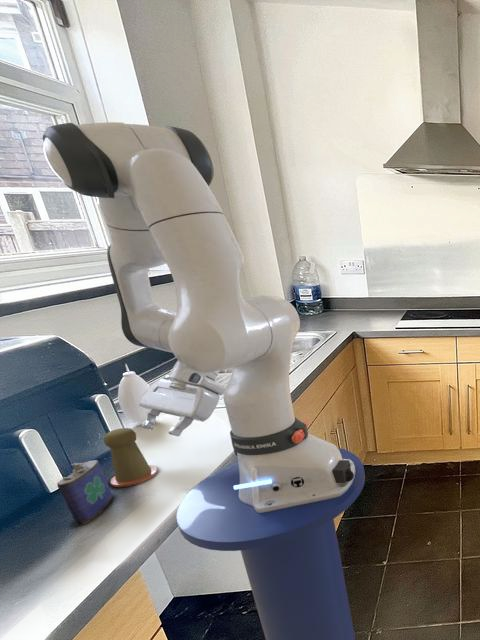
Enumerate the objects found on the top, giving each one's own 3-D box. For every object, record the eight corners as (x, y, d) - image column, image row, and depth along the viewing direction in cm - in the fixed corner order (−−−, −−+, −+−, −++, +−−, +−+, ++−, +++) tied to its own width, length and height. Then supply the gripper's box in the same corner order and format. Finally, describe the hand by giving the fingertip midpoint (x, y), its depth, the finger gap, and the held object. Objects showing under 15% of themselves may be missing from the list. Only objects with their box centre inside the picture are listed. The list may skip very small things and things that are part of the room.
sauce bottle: (142, 430, 115) (121, 368, 109) (120, 427, 116) (98, 366, 110) (169, 418, 122) (151, 360, 116) (148, 416, 124) (129, 358, 117)
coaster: (165, 465, 98) (164, 463, 98) (143, 485, 90) (143, 482, 90) (126, 469, 96) (125, 467, 96) (101, 489, 89) (100, 486, 89)
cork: (141, 480, 91) (125, 435, 87) (109, 483, 90) (91, 438, 86) (156, 465, 97) (142, 423, 93) (125, 469, 95) (109, 426, 92)
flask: (101, 497, 86) (83, 452, 82) (118, 495, 87) (101, 450, 83) (70, 526, 78) (48, 477, 74) (89, 523, 79) (68, 475, 75)
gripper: (150, 369, 103) (117, 420, 98) (208, 378, 96) (176, 434, 91) (175, 380, 108) (144, 429, 103) (231, 390, 102) (201, 443, 97)
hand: (159, 432), depth 97 cm, fingers open, 8 cm apart
